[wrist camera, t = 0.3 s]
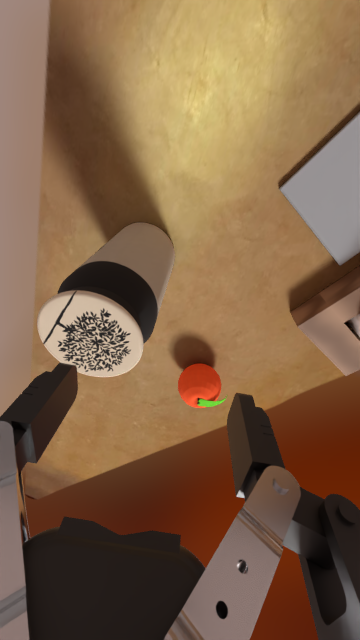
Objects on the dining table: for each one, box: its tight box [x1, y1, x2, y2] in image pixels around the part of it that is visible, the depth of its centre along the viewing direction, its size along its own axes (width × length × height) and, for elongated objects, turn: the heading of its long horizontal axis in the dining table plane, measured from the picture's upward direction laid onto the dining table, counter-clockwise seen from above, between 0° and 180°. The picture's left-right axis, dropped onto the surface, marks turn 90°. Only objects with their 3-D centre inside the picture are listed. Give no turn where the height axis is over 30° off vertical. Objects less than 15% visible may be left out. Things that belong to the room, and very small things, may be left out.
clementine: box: [178, 363, 227, 408], centre depth 40 cm, size 8×7×7 cm
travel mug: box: [37, 223, 175, 377], centre depth 25 cm, size 8×8×18 cm
